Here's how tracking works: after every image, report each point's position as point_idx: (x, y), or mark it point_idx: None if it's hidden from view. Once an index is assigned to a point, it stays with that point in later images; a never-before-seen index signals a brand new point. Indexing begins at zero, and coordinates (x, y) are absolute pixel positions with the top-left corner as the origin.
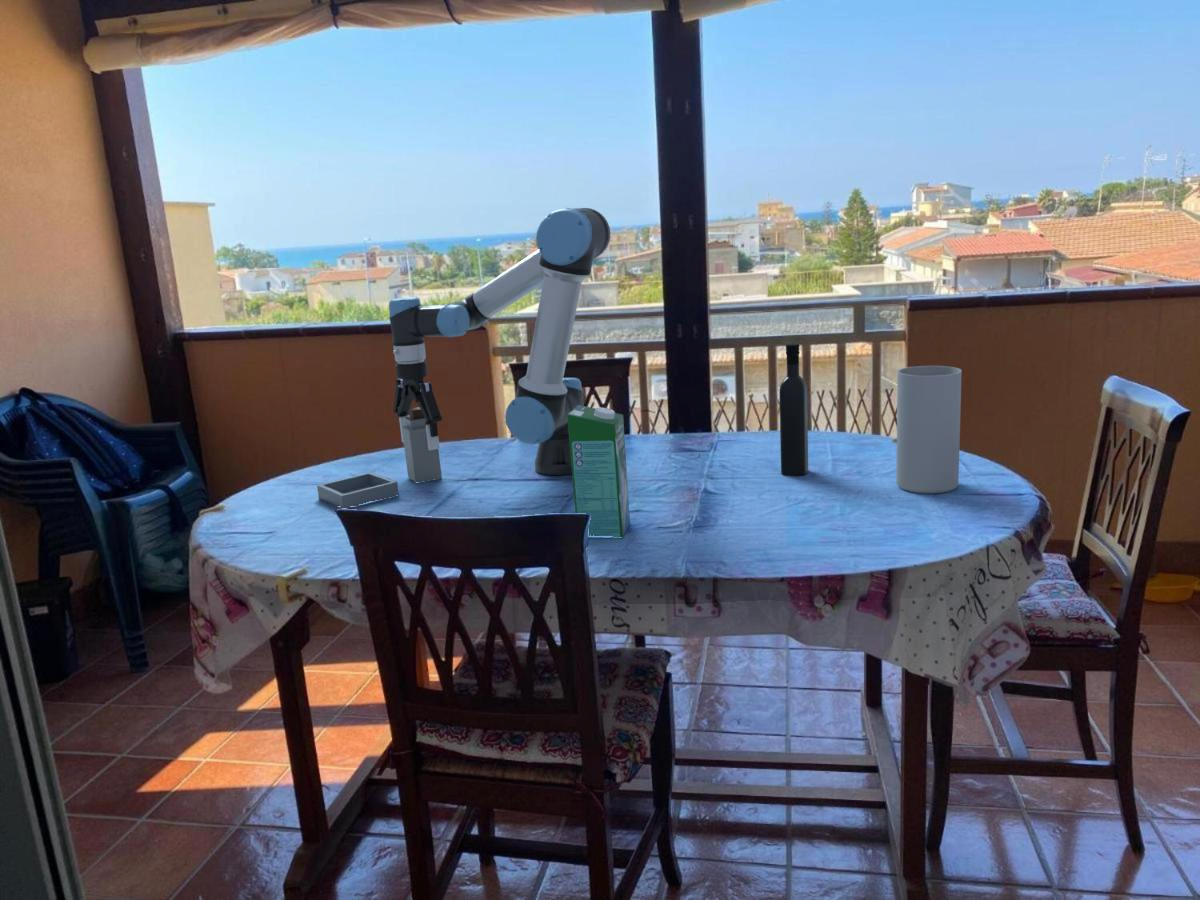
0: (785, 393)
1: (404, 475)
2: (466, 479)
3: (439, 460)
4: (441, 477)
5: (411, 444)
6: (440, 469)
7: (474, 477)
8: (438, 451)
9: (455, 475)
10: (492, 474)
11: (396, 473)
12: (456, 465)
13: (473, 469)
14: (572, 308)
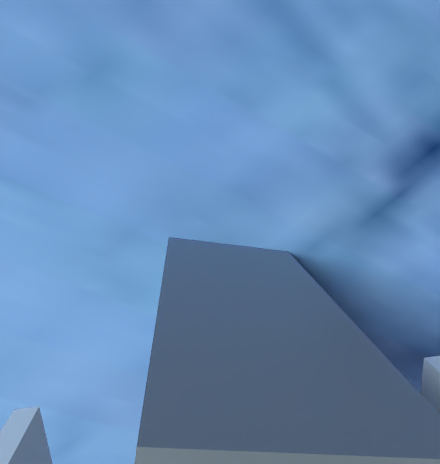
0: None
1: (100, 344)
2: (394, 181)
3: (318, 286)
4: (289, 254)
5: None
6: (300, 267)
7: (398, 138)
8: (342, 311)
9: (293, 184)
10: (432, 47)
11: (35, 357)
12: (117, 84)
13: (270, 62)
14: None
